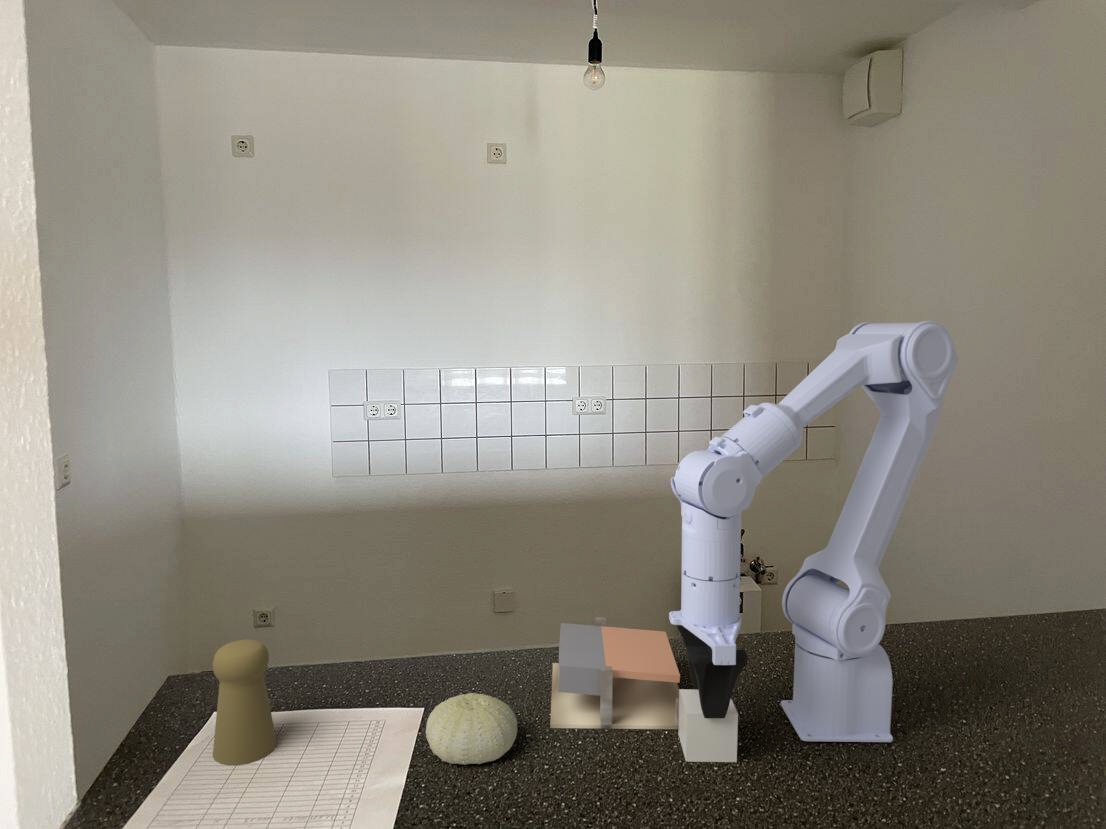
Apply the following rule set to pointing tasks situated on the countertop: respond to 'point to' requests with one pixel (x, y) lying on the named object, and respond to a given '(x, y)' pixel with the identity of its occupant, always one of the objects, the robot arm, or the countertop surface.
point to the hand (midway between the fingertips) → (708, 702)
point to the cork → (242, 704)
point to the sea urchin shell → (471, 729)
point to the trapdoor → (612, 656)
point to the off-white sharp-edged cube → (706, 731)
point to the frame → (616, 703)
